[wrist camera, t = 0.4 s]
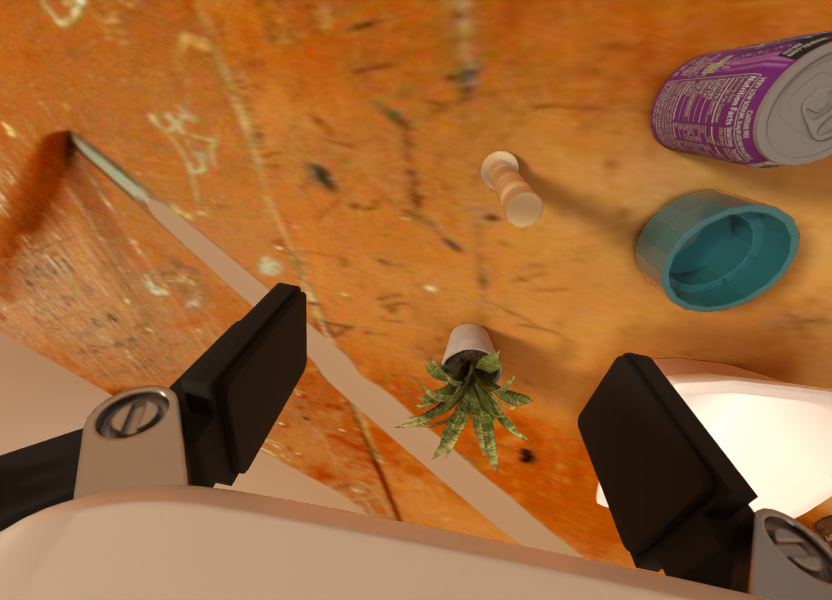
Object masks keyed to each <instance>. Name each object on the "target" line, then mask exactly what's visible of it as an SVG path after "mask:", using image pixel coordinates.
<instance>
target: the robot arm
mask: <svg viewBox="0 0 832 600" xmlns="http://www.w3.org/2000/svg"><path fill="white" fill-rule="evenodd" d="M306 337H307V336H306V294H305V293H304V292H301V289H300V287H299V286H294V285H289V284H284V283H278V284H277V285H276V286H275V287H274V288H273V289H272V290H271V291H270V292H269V293H268V294H267V295H266V296H265V297H264V298H263V299H262V300H261V301H260V302H259V303H258V304H257V305H256V306H255V307H254V308H253V309H252V310H251V311H250V312H249V313H248V314H247V315H246V316H245V317H244V318H243V319H242V320H241V321H237V322H236V323H234V324H233V325H232V326H231V327H230V328H229V329H228V330H227V331H226V332H225V333H224V334H223V335H222V336H221V337H220V338H219V339H218V340H217V341H216V342H215V343H214V344H213V345H212V346H211V347H210V348H209V349H208V350H207V351H206V352H205V353H204V354H203V355H202V356H201V357H200V358H199V359H198V360H197V361H196V362H195V363H194V364H193V365H192V366H191V367H190V368H189V369H188V370H187V371H186V372H185V373H184V374H183V375H182V376H181V377H180V378H178V379H177V380H176V381H175V382H174V383H173V384H172V385H171V386H170V387H169V388H166V387H162V386H142V387H136V388H132V389H129V390H126V391H123V392H120V393H118V394H116V395H114V396H112V397H111V398H108V399H107V400H105V401H104V402H103V403H101V404H100V405H99V406H97V407H96V408H95V409H94V410H93V412H92V413H91V414H90V415H89V416H88V417H87V420H86V422H85V425H84V427H83V428H82V429H79V430H76V431H73V432H70V433H68V434H64V435H61V436H58V437H55V438H52V439H49V440H46V441H43V442H40V443H37V444H34V445H31V446H28V447H25V448H22V449H19V450H16V451H13V452H10V453H7V454H4V455H1V456H0V600H832V549H831V548H830V547H829V546H828V545H827V544H826V543H825V542H824V541H823V540H822V539H821V538H820V537H819V536H817V535H816V534H815V533H814V532H813V531H811V530H810V529H809V528H807V527H806V526H804V525H803V524H802V523H800V522H799V521H797V520H795V519H794V518H792V517H790V516H788V515H786V514H784V513H782V512H779V511H776V510H774V509H767V508H762V509H760V510H757V511H756V512H754V511H753V510H752V508H751V507H750V506H749V503H751V502H752V501H753V500H755V499H756V498H757V497H758V496H757V494H756V493H755V492H754V490H753V489H752V488H751V487H750V485H749V484H748V483H747V481H746V480H745V479H744V477H743V476H742V475H741V474H740V472H739V471H738V470H737V468H736V467H735V466H734V464H733V463H732V462H731V461H730V459H729V458H728V457H727V455H726V454H725V453H724V452H723V450H722V449H721V448H720V446H719V445H718V444H717V442H716V441H715V440H714V439H713V437H712V436H711V435H710V433H709V432H708V431H707V429H706V428H705V427H704V426H703V424H702V423H701V422H700V420H699V419H698V418H697V417H696V415H695V414H694V413H693V411H692V410H691V409H690V407H689V406H688V405H687V404H686V402H685V401H684V400H683V398H682V397H681V396H680V394H679V393H678V392H677V391H676V389H675V388H674V387H673V385H672V384H671V383H670V382H669V380H668V379H667V378H666V376H665V375H664V374H663V372H662V371H661V370H660V369H659V367H658V366H657V365H656V363H655V362H654V361H653V360H652V359H651V358H650V357H648V356H643V355H638V354H633V353H625V354H624V355H623V356H619V357H617V358H616V360H615V361H614V363H613V364H612V366H611V367H610V369H609V370H608V372H607V373H606V375H605V376H604V378H603V380H602V381H601V383H600V384H599V386H598V387H597V389H596V390H595V392H594V393H593V395H592V397H591V398H590V400H589V401H588V403H587V404H586V406H585V407H584V409H583V410H582V412H581V414H580V415H579V418H578V427H579V430H580V433H581V435H582V438H583V441H584V443H585V446H586V449H587V451H588V454H589V456H590V459H591V462H592V464H593V467H594V470H595V472H596V475H597V478H598V480H599V483H600V485H601V488H602V491H603V493H604V496H605V499H606V501H607V504H608V506H609V509H610V512H611V514H612V517H613V520H614V522H615V525H616V528H617V530H618V533H619V535H620V538H621V541H622V543H623V545H624V547H625V548H626V549H627V550H628V551H629V552H630V553H631V556H632V558H633V561H634V564H635V566H636V568H641V569H646V570H651V571H656V572H658V571H660V570H661V569H662V568H663V570H664V572H665V574H666V575H661V574H656V573H651V572H646V571H642V570H637V569H632V568H627V567H622V566H617V565H613V564H608V563H603V562H598V561H593V560H588V559H584V558H579V557H574V556H569V555H564V554H559V553H554V552H549V551H544V550H540V549H535V548H530V547H525V546H520V545H515V544H510V543H505V542H500V541H495V540H490V539H485V538H480V537H475V536H470V535H465V534H460V533H455V532H450V531H445V530H440V529H435V528H430V527H425V526H420V525H415V524H410V523H405V522H400V521H395V520H390V519H385V518H380V517H374V516H369V515H364V514H359V513H354V512H349V511H344V510H339V509H334V508H329V507H323V506H318V505H313V504H308V503H302V502H296V501H291V500H285V499H280V498H273V497H268V496H263V495H257V494H251V493H246V492H240V491H233V490H226V489H218V488H213V487H214V485H215V483H220V484H224V485H229V486H232V484H233V482H234V481H235V479H236V477H237V476H238V474H239V473H242V474H244V473H245V472H246V471H247V470H248V469H249V467H250V465H251V464H252V462H253V460H254V458H255V457H256V455H257V453H258V451H259V450H260V448H261V446H262V444H263V443H264V441H265V439H266V437H267V436H268V434H269V432H270V430H271V429H272V427H273V425H274V423H275V422H276V420H277V418H278V416H279V414H280V413H281V411H282V409H283V407H284V406H285V404H286V402H287V400H288V399H289V397H290V395H291V393H292V392H293V390H294V388H295V386H296V385H297V383H298V381H299V379H300V378H301V376H302V374H303V372H304V370H305V367H306V362H307V342H306V341H307V340H306V339H307V338H306Z"/></svg>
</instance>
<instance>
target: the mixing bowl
mask: <svg viewBox="0 0 832 600" xmlns="http://www.w3.org/2000/svg"><path fill="white" fill-rule="evenodd" d="M799 238H800V233H799V231H798V228H797V226H796V224H795V222H794V220H793V218H792V217H791V216H789V215H788V214H786V213H785V212H783V211H781V210H780V209H778V208H777V207H774V206H771V205H768V204H765V203H761V202H758V201H755V200H752V199H749V198H746V197H743V196H740V195H737V194H734V193H731V192H725V191H718V190H705V191H699V192H694V193H689V194H687V195H685V196H683V197H681V198H679V199H677V200H675V201H673V202H670V203H669V204H667V205H666V206H665V207H663V208H662V209H661V210H660V211H659V212H658V213H656V214H655V215H654V216H653V217H652V218H651V219H650V220H649V221H648V223H647V224H646V226H645V227H644V229H643V230H642V231H641V233H640V235H639V238H638V241H637V245H636V248H635V257H636V265H637V267H638V268H639V270H640V271H641V272H642V274H643V275H644V277H645V278H647V279H648V280H649V281H650V282H651V283H652V284H653V285H654V286H655V287H656V288H657V289H658V290H660V291H661V292H662V293H663V294H664V295H665V296H666V297H667V298H668V299H669V300H670V301H671V302H673V303H675V304H677V305H679V306H680V307H682V308H684V309H686V310H693V311H700V312H711V311H719V310H726V309H730V308H732V307H735V306H738V305H741V304H743V303H746V302H748V301H751V300H752V299H754V298H755V297H757V296H759V295H760V294H762V293H764V292H765V291H767V290H768V289H769V288H771V287H772V286H773V285H774V284H775V283H776V282H777V281H778V280H779V279H780V278H781V277H782V276H783V275H784V274H785V273H786V272H787V271H788V269H789V267H790V265H791V264H792V262H793V260H794V258H795V257H796V255H797V252H798V246H799Z"/></svg>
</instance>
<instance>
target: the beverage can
mask: <svg viewBox="0 0 832 600" xmlns="http://www.w3.org/2000/svg"><path fill="white" fill-rule="evenodd" d="M651 129H652V132H653V135H654V137H655V138H656V140H657V141H658V142H659V143H660V144H661V145H663V146H664V147H666V148H668V149H671V150H676V151H680V152H685V153H690V154H694V155H699V156H704V157H708V158H713V159H717V160H722V161H727V162H731V163H736V164H741V165H745V166H750V167H756V168H774V167H780V166H784V165H802V164H808V163H812V162H815V161H818V160H821V159H823V158H826V157H828V156H830V155H832V31H824V32H818V33H812V34H807V35H802V36H797V37H792V38H786V39H781V40H776V41H771V42H765V43H760V44H755V45H750V46H745V47H739V48H734V49H729V50H724V51H718V52H713V53H708V54H704V55H701V56H699V57H696V58H694V59H692V60H690V61H688V62H687V63H685V64H684V65H682V66H681V67H680V68H679V69H677V70H676V71H675V72H674V73H673V74H672V75H671V76H670V77H669V78H668V79H667V81H666V82H665V83H664V85H663V86H662V87H661V89H660V91H659V92H658V94H657V96H656V98H655V101H654V104H653V107H652V111H651Z"/></svg>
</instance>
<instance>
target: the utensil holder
mask: <svg viewBox="0 0 832 600" xmlns="http://www.w3.org/2000/svg"><path fill="white" fill-rule="evenodd" d="M816 529H817V531H818V533H819V534H820V535H821V537H822V538H823V539H824V540H825V541H826V543H827V544H828V545H829V546H830V547H831V548H832V516H830V517H827V518H824V519H822V520H820V521H819V522H818V523H817V524H816Z"/></svg>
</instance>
